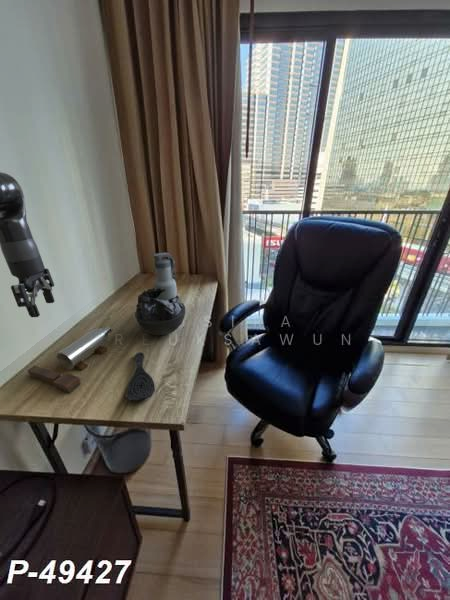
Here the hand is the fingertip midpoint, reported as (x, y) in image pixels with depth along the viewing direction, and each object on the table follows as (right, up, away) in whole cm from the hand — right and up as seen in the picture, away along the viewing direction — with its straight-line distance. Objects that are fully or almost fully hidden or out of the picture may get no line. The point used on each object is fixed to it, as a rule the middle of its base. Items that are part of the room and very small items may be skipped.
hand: (43, 309), depth 74 cm
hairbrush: (+26, -23, +8) cm, 35 cm away
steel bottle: (+4, -18, +19) cm, 26 cm away
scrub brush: (-2, -24, +7) cm, 25 cm away
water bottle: (+26, -2, +49) cm, 56 cm away
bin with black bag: (+28, -11, +32) cm, 44 cm away
